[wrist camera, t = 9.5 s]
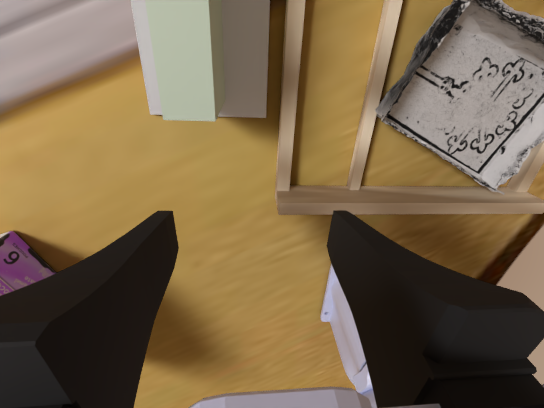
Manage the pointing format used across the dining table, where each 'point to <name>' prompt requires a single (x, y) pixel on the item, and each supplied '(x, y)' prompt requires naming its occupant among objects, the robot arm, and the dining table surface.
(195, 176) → the dining table surface
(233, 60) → the light gray panel
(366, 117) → the birch rack
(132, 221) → the dining table surface
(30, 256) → the candy box
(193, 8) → the pale green block
